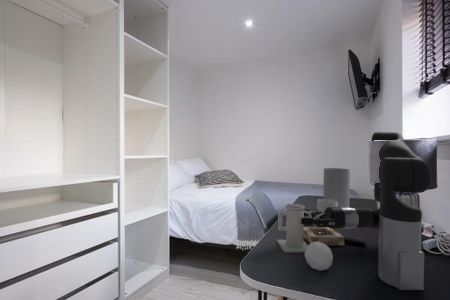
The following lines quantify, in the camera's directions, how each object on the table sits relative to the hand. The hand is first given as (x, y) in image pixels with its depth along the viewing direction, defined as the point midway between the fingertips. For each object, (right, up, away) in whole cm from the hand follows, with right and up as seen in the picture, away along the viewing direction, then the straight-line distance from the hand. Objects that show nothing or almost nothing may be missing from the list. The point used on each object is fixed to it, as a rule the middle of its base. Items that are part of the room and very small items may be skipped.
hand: (297, 217), depth 88 cm
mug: (+23, -11, +28) cm, 38 cm away
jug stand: (+12, -11, +8) cm, 18 cm away
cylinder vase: (+32, -11, +41) cm, 53 cm away
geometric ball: (+2, -11, -16) cm, 19 cm away
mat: (-1, -11, 0) cm, 11 cm away
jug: (-2, -10, 0) cm, 10 cm away
